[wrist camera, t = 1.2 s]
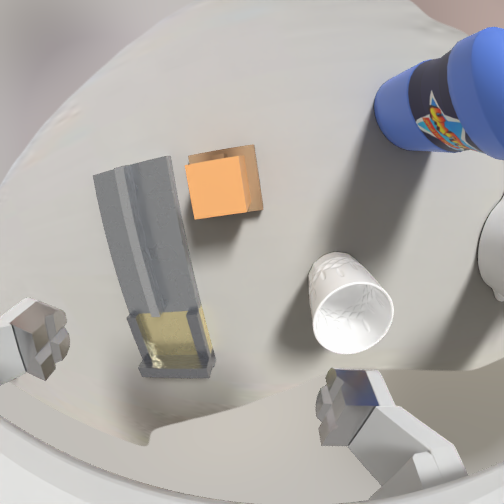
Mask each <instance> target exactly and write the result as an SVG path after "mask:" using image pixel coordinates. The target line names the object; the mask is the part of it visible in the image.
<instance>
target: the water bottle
mask: <svg viewBox="0 0 504 504" xmlns="http://www.w3.org/2000/svg"><path fill="white" fill-rule="evenodd" d="M374 111H375V117H376V121H377V123H378V125H379V128H380V129H381V131H382V132H383V134H384V135H385V136H386V137H387V139H388V140H389V141H391V142H392V143H393V144H394V145H396V146H398V147H400V148H402V149H406V150H413V151H433V152H452V153H456V152H462V151H465V150H474V151H478V152H481V153H484V154H487V155H488V156H491V157H493V158H495V159H499V160H504V29H502V28H498V27H489V28H486V29H484V30H482V31H479V32H477V33H475V34H473V35H471V36H469V37H466V38H464V39H462V40H461V41H459V42H457V44H456V45H455V46H454V47H453V48H452V50H450V51H449V52H448V53H446V54H445V55H444V56H442V57H441V58H438V59H433V60H427V61H423V62H421V63H419V64H417V65H415V66H413V67H411V68H410V69H408V70H406V71H404V72H402V73H400V74H399V75H397V76H395V77H393V78H391V79H390V80H388V81H386V82H385V83H384V84H383V85H382V86H381V87H380V88H379V90H378V92H377V94H376V97H375V102H374Z"/></svg>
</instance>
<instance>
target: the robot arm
mask: <svg viewBox="0 0 504 504" xmlns="http://www.w3.org/2000/svg"><path fill="white" fill-rule="evenodd" d="M478 265H479V270H480V274H481V276H482V278H483V280H484V282H485V283H486V284H487V285H489V286H490V287H491V288H492V289H493V292H494V295H495V298H496V299H497V300H499V301H500V302H502V301H504V196H503V198H502V199H501V201H500V202H499V203H498V204H497V205H496V207H495V208H494V209H493V210H492V212H491V213H490V215H489V217H488V219H487V221H486V223H485V225H484V228H483V231H482V234H481V238H480V242H479V249H478ZM66 323H67V319H66V314H65V312H64V311H63V310H61V309H58V308H56V307H53V306H51V305H48V304H46V303H43V302H41V301H38V300H36V299H33V298H31V297H26V298H25V299H23V300H22V301H20V302H19V303H18V304H16V305H15V306H14V307H13V308H11V309H10V310H9V311H7V312H6V313H5V314H3V315H2V316H1V317H0V385H2V384H4V383H7V382H9V381H11V380H13V379H15V378H17V377H19V376H21V375H23V374H25V373H26V372H27V373H29V374H32V375H34V376H36V377H38V378H40V379H42V380H44V381H46V380H47V379H48V377H49V376H50V375H51V374H52V372H53V371H54V370H55V369H56V365H55V363H56V362H59V361H62V360H63V359H64V358H65V356H66V355H67V353H68V350H69V347H70V337H69V333H68V332H67V330H66V328H65V327H64V326H65V325H66ZM326 382H327V384H326V385H325V386H324V387H322V388H321V389H320V391H319V394H318V396H317V400H316V416H317V418H318V419H319V420H320V421H321V422H322V423H321V425H320V427H319V435H320V440H321V445H322V446H348V448H349V449H350V450H351V452H352V453H353V454H354V455H355V456H356V457H357V458H358V460H359V461H360V462H361V463H362V464H363V465H364V466H365V468H366V469H367V470H368V471H369V472H370V473H371V474H372V476H373V477H374V478H375V479H376V480H377V481H378V482H379V483H380V484H381V486H382V487H381V488H380V489H379V490H378V491H376V492H375V493H374V494H373V495H372V496H371V497H370V498H369V500H368V501H360V502H351V503H341V504H504V461H502V462H500V463H497V464H495V465H493V466H491V467H488V468H486V469H483V470H481V471H478V472H476V473H473V474H470V475H468V474H467V472H466V470H465V467H464V465H463V463H462V461H461V459H460V457H459V455H458V452H457V450H456V448H455V446H454V445H453V444H451V443H450V442H449V441H448V440H446V439H445V438H443V437H442V436H440V435H439V434H438V433H436V432H435V431H433V430H432V429H431V428H429V427H428V426H427V425H425V424H424V423H423V422H421V421H420V420H418V419H417V418H416V417H414V416H413V415H411V414H410V413H409V412H408V411H406V410H405V409H403V408H402V407H401V406H396V405H395V403H394V401H393V399H392V397H391V394H390V392H389V390H388V388H387V386H386V384H385V381H384V379H383V377H382V375H381V373H380V372H379V371H378V370H365V369H363V370H356V369H341V368H331V369H330V370H329V371H328V373H327V376H326ZM0 504H250V503H241V502H231V501H224V500H217V499H211V498H205V497H199V496H194V495H189V494H184V493H180V492H175V491H171V490H167V489H163V488H159V487H155V486H152V485H148V484H145V483H142V482H138V481H135V480H132V479H129V478H126V477H123V476H120V475H117V474H114V473H111V472H109V471H106V470H104V469H101V468H99V467H96V466H94V465H91V464H89V463H86V462H84V461H82V460H79V459H77V458H75V457H73V456H71V455H69V454H67V453H65V452H62V451H60V450H58V449H56V448H55V447H53V446H51V445H48V444H47V443H45V442H43V441H41V440H40V439H38V438H36V437H34V436H33V435H31V434H29V433H27V432H26V431H24V430H22V429H21V428H19V427H17V426H16V425H14V424H13V423H11V422H10V421H8V420H7V419H5V418H4V417H2V416H1V415H0ZM251 504H252V503H251Z"/></svg>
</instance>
